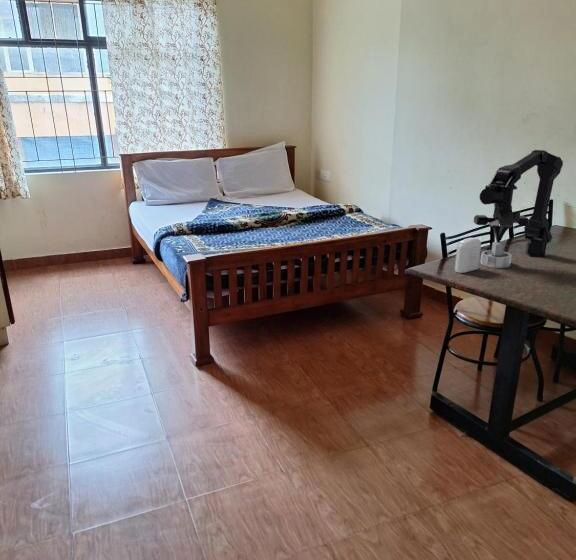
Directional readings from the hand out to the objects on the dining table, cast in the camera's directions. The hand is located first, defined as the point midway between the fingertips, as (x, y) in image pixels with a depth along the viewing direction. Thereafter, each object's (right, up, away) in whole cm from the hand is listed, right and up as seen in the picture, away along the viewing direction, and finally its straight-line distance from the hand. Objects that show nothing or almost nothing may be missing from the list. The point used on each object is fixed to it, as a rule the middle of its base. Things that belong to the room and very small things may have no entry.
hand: (498, 242), depth 193 cm
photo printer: (-14, -11, -5) cm, 19 cm away
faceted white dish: (0, -8, +3) cm, 9 cm away
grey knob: (0, -6, +2) cm, 7 cm away
